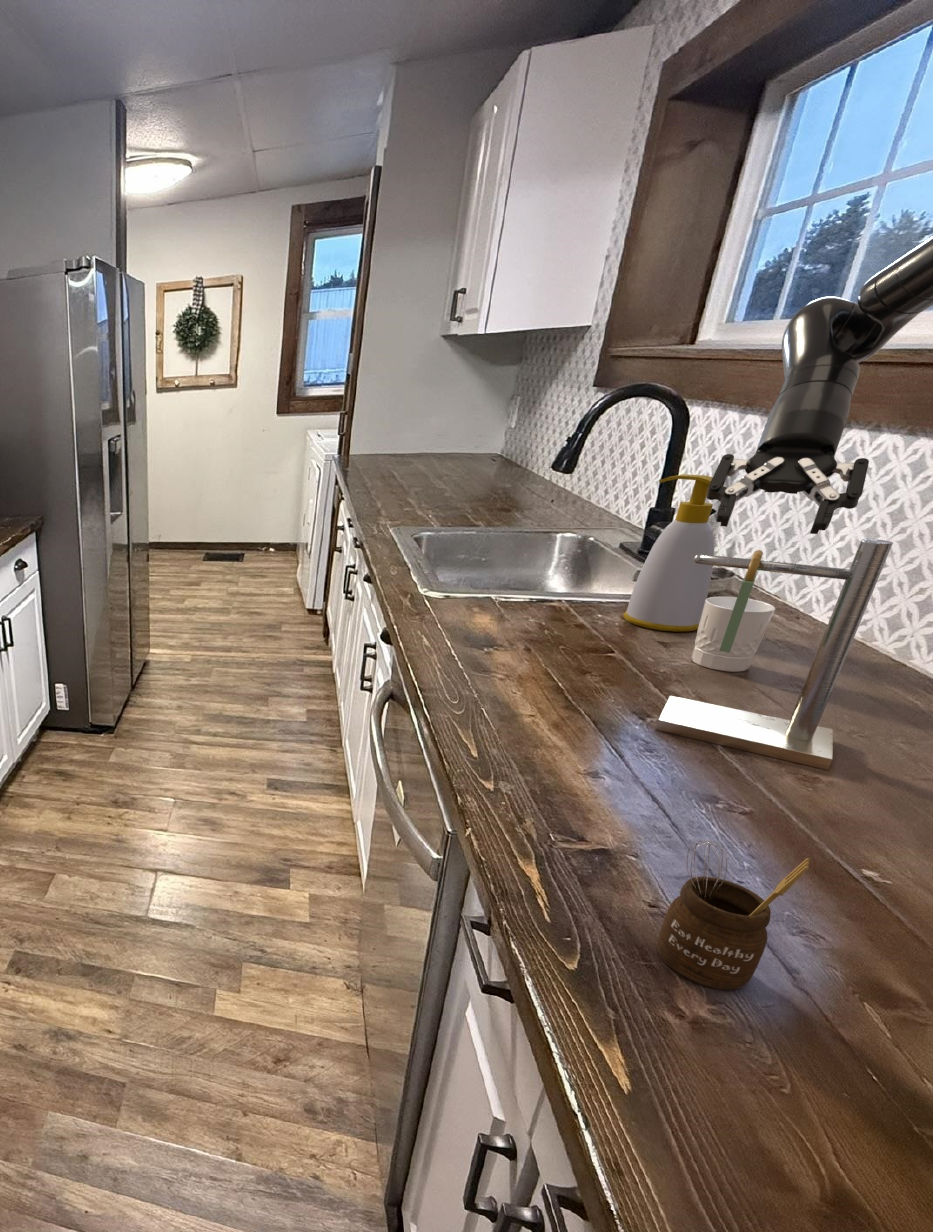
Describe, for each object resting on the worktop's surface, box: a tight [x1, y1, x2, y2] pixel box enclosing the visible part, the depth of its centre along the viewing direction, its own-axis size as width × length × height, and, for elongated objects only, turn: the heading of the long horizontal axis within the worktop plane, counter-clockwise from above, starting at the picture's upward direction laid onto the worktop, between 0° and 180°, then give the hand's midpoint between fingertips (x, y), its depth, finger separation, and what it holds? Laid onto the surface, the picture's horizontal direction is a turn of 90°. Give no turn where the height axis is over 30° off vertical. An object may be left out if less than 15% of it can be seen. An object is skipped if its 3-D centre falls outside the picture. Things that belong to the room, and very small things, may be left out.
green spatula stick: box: [719, 549, 764, 653], centre depth 89 cm, size 1×6×12 cm, turn 134°
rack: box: [654, 538, 894, 771], centre depth 88 cm, size 18×10×26 cm, turn 44°
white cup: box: [691, 595, 776, 673], centre depth 111 cm, size 8×8×10 cm
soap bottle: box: [622, 474, 715, 633], centre depth 126 cm, size 11×12×26 cm
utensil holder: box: [656, 840, 811, 991], centre depth 56 cm, size 6×6×12 cm
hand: (768, 526), depth 93 cm, fingers open, 8 cm apart
